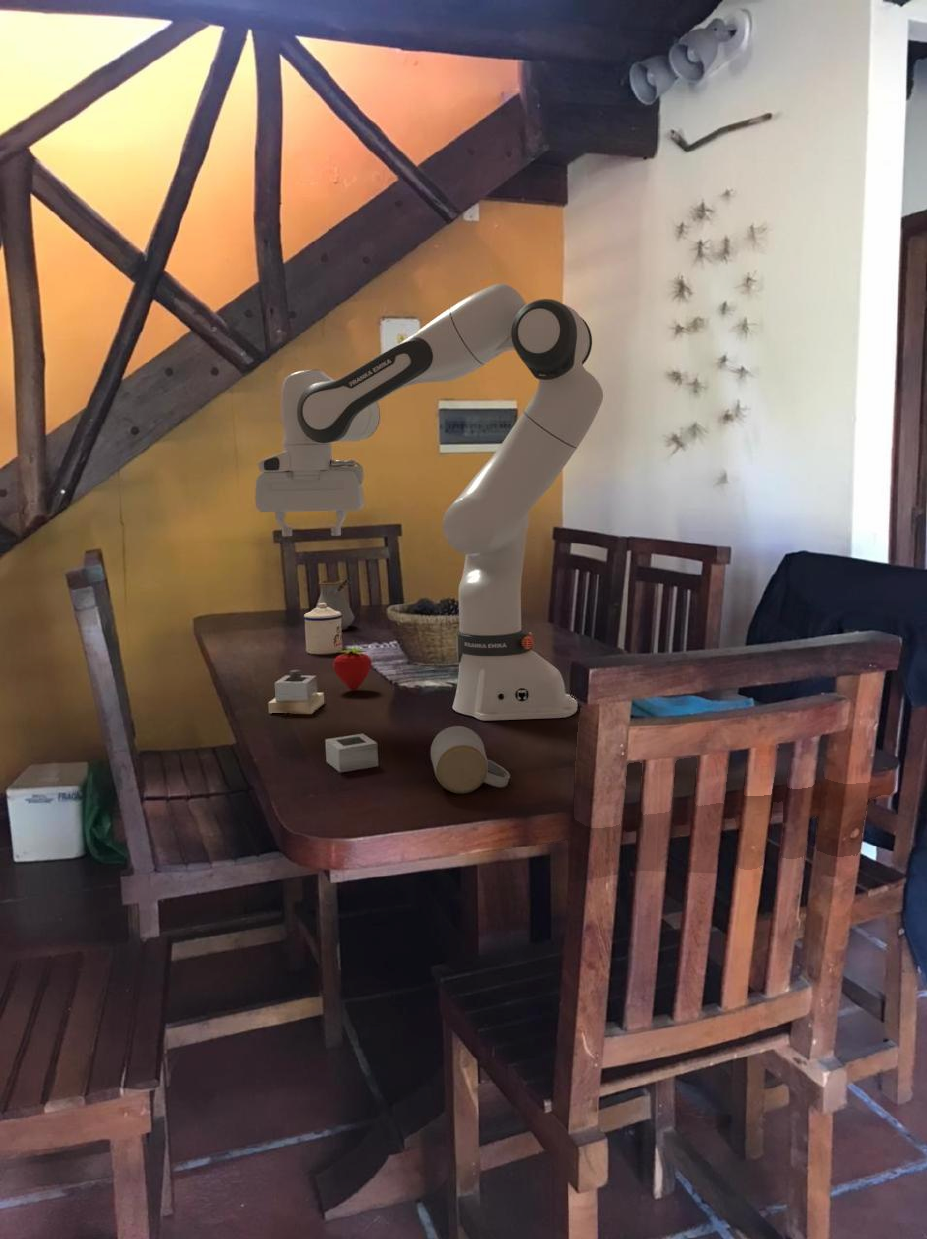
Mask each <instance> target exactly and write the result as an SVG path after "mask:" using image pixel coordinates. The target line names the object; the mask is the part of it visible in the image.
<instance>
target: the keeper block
mask: <svg viewBox="0 0 927 1239" xmlns="http://www.w3.org/2000/svg"><path fill="white" fill-rule="evenodd" d="M289 676H290V681H299V682H301V676H302V672H301V670H300V669H292V670H289ZM267 704H268V714H272V713H285V714H284V715H286V713H290V714H289V715H292V714H293V715H312V714H313V713H314V712H316V711H317V710H318V709H319V708H320V707H322V706H323V705H324V704H325V693H324V692H317V695H316V696H314V697H313V698H312V699H311V700H309V701H308V702H276V700H275V697H274V698H273V699H271V700H270V701H269V702H268V703H267ZM315 710H316V711H315Z"/></svg>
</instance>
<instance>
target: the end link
mask: <svg viewBox="0 0 927 1239" xmlns="http://www.w3.org/2000/svg"><path fill="white" fill-rule="evenodd" d="M317 678H318V677H317V675H301V682H299V681H290V675H284V676H282V677H281V678H280V679H278V680H277V681H275V682H274V693H275V694H274V698H275V700H276V702H308V701H309V700H311V699H312V698H313V697H314V696H316V695H317V693H318V681H317V680H318V679H317Z"/></svg>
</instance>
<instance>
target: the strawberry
mask: <svg viewBox="0 0 927 1239" xmlns="http://www.w3.org/2000/svg"><path fill="white" fill-rule="evenodd" d="M351 642H352V643H353V646H354V647H353V648H350V649H346V650H342V651H340V652H338V653H343V654H340V655H338V656H336V657H335V658H334V659H333V663H332V667H333V670H334V673H335V674H336V676H338V678H339V679H340V681H341V682H342V683H343V684H344V685H346V687H347V688H348V690H350V691H353V692H355V691H357V690H358V689H359V688H360V686H361V685H362V684H363V682H364V681H365V680H366V679H367V676H368V675H369V673H370V670H371V668H372V660H371V657H369V656H368V654H366V652H367V650H364V649H362V650H361V649H356V644H355V643H354V640H353V639H352V640H351Z"/></svg>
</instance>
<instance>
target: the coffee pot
mask: <svg viewBox="0 0 927 1239" xmlns="http://www.w3.org/2000/svg"><path fill="white" fill-rule="evenodd" d="M347 583H349V586H348V585H347ZM318 585H319V586H320V588H321V593H320V595H319V598H318V601H317V603H316V607H315V608H318V604H319V603H326V607H329V608H331V609H333V610H335V611H339V612H340V613H341V615H342V617H341V628H342V630H343V631H344V630H346V629H348V628H349V626H350V625H352V624H353V622H354V620H355V615H354V613H353V611H352V609H351V607H350V605H349V602H348V601H347V598H346V596H345V594H344V592H343V591H342V590H343V589H344V588H345V587H346V585H347V588H349V587H350V586H351V582H350V581H349V580H347V579H344V580H324V581H323V580H322V581H319V582H318Z"/></svg>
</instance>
